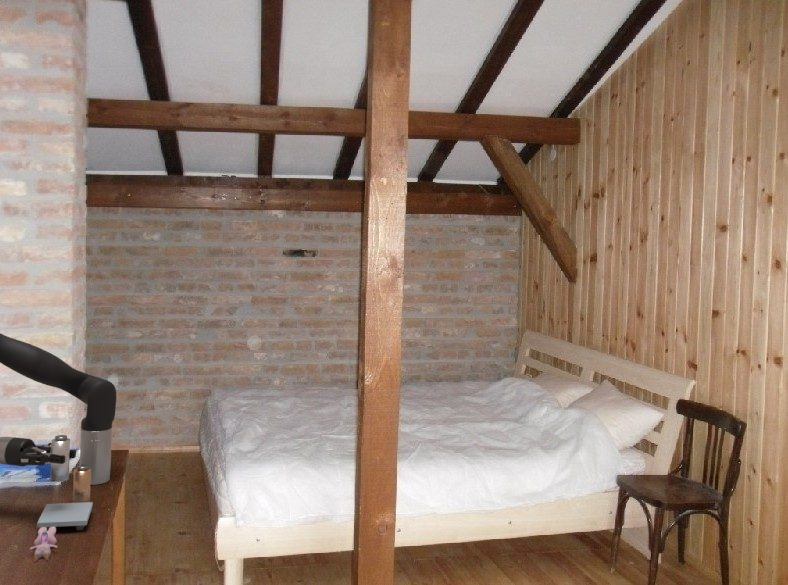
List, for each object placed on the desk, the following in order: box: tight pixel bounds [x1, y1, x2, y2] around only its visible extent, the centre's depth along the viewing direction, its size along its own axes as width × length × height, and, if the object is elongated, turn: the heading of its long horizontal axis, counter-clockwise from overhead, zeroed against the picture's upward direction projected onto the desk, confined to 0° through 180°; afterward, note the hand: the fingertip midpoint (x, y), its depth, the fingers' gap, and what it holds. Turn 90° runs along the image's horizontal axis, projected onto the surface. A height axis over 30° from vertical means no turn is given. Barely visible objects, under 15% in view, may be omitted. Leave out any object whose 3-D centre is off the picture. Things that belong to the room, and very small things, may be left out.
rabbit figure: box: [29, 526, 59, 562], centre depth 180 cm, size 6×6×15 cm
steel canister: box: [49, 434, 71, 483], centre depth 198 cm, size 5×5×12 cm
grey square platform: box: [36, 501, 94, 531], centre depth 197 cm, size 14×12×3 cm
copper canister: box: [72, 464, 92, 503], centre depth 209 cm, size 5×5×12 cm
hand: (69, 457), depth 198 cm, fingers closed on steel canister, 4 cm apart
